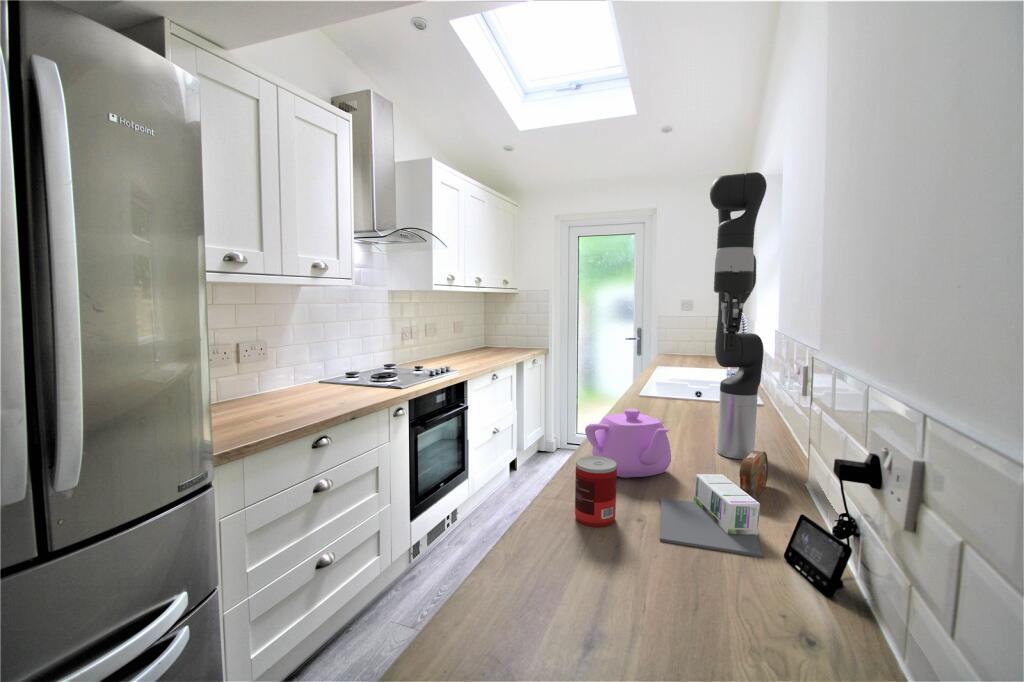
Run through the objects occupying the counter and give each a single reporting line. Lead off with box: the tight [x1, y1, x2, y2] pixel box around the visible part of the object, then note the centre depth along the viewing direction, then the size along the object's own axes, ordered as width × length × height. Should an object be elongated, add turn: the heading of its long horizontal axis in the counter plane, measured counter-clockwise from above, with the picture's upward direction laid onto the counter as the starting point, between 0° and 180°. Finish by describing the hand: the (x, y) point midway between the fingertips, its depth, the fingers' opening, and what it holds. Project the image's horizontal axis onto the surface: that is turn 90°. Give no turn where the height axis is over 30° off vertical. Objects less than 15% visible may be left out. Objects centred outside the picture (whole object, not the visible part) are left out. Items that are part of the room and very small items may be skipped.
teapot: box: [584, 408, 672, 479], centre depth 113 cm, size 23×21×15 cm
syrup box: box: [694, 473, 761, 535], centre depth 90 cm, size 6×6×14 cm
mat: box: [659, 497, 763, 558], centre depth 88 cm, size 18×16×1 cm
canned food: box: [574, 455, 618, 528], centre depth 90 cm, size 8×8×11 cm
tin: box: [738, 450, 769, 501], centre depth 103 cm, size 15×3×8 cm, turn 140°
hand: (729, 351), depth 102 cm, fingers closed
